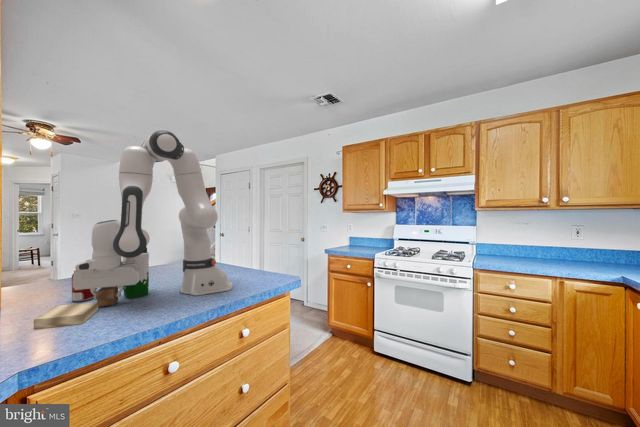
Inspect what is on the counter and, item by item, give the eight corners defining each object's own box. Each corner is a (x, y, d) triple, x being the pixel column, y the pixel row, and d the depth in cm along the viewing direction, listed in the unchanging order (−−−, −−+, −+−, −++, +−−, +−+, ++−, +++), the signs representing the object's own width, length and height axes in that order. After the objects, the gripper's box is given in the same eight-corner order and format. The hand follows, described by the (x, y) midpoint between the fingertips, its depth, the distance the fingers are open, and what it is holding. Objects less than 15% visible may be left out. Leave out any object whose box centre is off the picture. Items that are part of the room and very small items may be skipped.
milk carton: (151, 294, 115) (150, 248, 114) (125, 300, 108) (125, 250, 108) (145, 290, 121) (145, 246, 120) (120, 295, 114) (120, 248, 114)
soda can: (81, 303, 104) (80, 272, 104) (67, 301, 105) (66, 271, 105) (98, 297, 111) (98, 268, 110) (85, 296, 112) (85, 267, 112)
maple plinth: (98, 310, 98) (98, 302, 98) (82, 323, 86) (82, 314, 86) (55, 314, 93) (55, 305, 93) (33, 329, 82) (33, 319, 82)
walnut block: (118, 300, 106) (118, 285, 106) (113, 305, 102) (113, 289, 101) (102, 302, 105) (102, 287, 104) (97, 306, 100) (97, 290, 100)
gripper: (141, 259, 109) (141, 292, 110) (78, 262, 102) (79, 298, 103) (136, 262, 103) (137, 297, 104) (69, 266, 96) (70, 304, 97)
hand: (108, 298), depth 103 cm, fingers closed on walnut block, 5 cm apart
